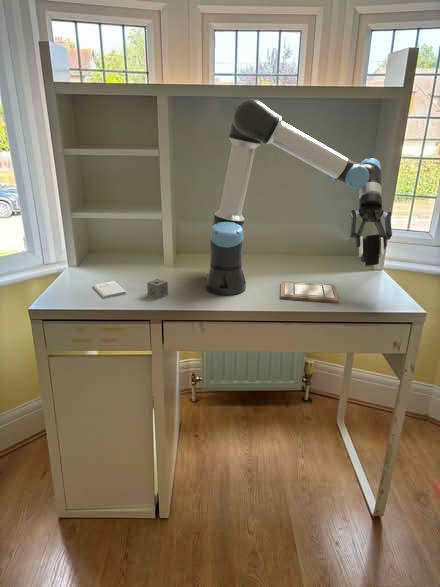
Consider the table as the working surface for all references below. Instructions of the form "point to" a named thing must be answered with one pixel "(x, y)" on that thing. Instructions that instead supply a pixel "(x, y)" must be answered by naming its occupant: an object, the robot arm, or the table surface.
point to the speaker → (371, 250)
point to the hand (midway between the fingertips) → (371, 255)
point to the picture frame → (309, 292)
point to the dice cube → (157, 288)
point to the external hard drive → (109, 289)
